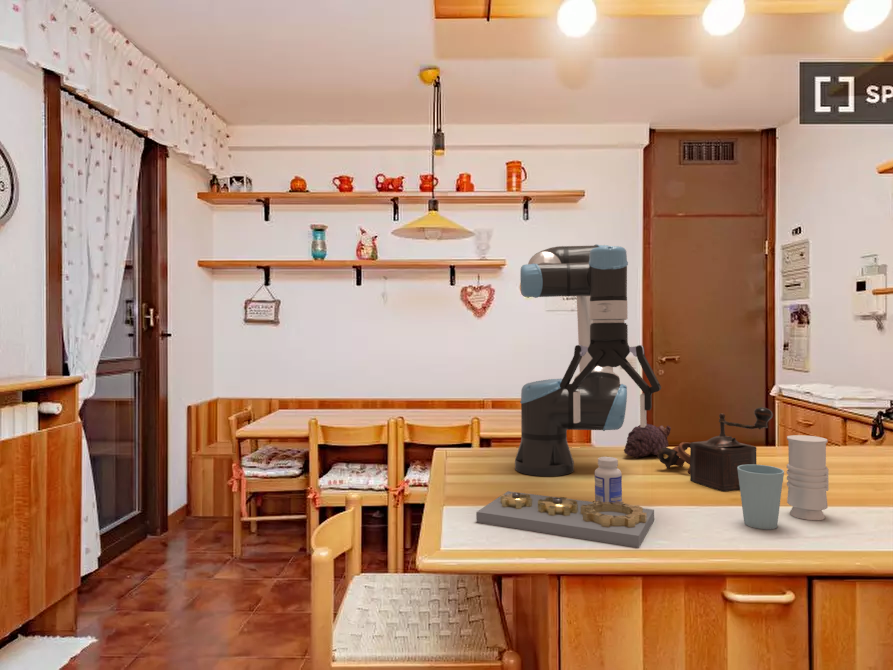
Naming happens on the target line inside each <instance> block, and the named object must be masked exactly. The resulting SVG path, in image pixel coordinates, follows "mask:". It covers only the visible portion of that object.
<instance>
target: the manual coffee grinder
mask: <svg viewBox="0 0 893 670" xmlns="http://www.w3.org/2000/svg"><path fill="white" fill-rule="evenodd" d="M753 414H754V416H755V419H756V421H755V422H754V423H753V424H754V425H750V424H744V423H739V422H738V423H737V422H731V421H726V419H725V418H726V415H725V413H722V412H721V413H719V414H718V415H719V419H718V423H719V424H720V425H719V426H720V427H719V429H720V433H719V435H716V436H713V437H711V438H709V439H707V440H703V441H701V440H700V441H692V442H691V441H690V443H691V444H690V448H689V449H690V453H689V455H690V465H689V467H690V474H689V476H690V478H689V479H690V482H693V483H695V484H699V485H701V486H704V487H708V488H710V489H713V490H715V491H719V492H729V491H731V492H732V491H738V490H739V491H740V485H739V477H738V469H737V467H738V466H740V465H748V464H755V465H757V450H758V449H757V446H754V445H751V444H746V443H742V442H739V441H738V440H737V439H736V437H732V435H730V436H728V435H726V432H725V429H726V428H725V425H727V426H730V427H737V428H738V427H739V428H743V429H748V430H756V429H758V430H762V429H764V428H765V429H768V428H769V427H768V426H769V425H768V422H769V421H770V420H771V419H773V416H774V413H773V411H772V410H771V409H769V408H767V407H764V406H761V407H757V408H755V409H754V410H753Z"/></svg>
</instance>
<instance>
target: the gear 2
mask: <svg viewBox="0 0 893 670" xmlns="http://www.w3.org/2000/svg"><path fill="white" fill-rule="evenodd" d="M592 502H593V503H592V504H588V505H582V506H581V514H583V520H585V521H586V522H590V521H592V522H595V523H598V524H602V526H604V527H610V526H626V527H628V528H630V527H635V524H638V523H640V522H642V523H646V521H647V513H643V508H644V507H642V506H640V505H632V504H628V503H625V502H624V501H622V502H621V501H616V502H601V501H595V500H594V501H592ZM605 511H613V512H621V513H625V514H628V515H625V516H612V515H604V514H601V513H599V512H605Z"/></svg>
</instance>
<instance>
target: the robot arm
mask: <svg viewBox="0 0 893 670" xmlns="http://www.w3.org/2000/svg"><path fill="white" fill-rule="evenodd" d="M627 254H628V253H627V249H626V248H625V247H623V246H619V245H605V244H603V245H602V244H594V245H568V246H567V245H566V246H565V245H562V246H558V245H557V246H553V247H549V248H546V249H543V250H540V251H538V252H537V253H534V255H532V256H531V257H530V258H529V260H528V263H526V264H523V265H522V266H520V275H519V276H520V279H519V280H520V293H521V294H520V295H521V296H522V297H525V298H535V299H536V298H550V297H552V298H553V297H575V298H576V309H577V311H576V312H577V313H576V314H577V338H578V339H577V340H578V344H577V345H575V346H574V353H573V357H572V359H571V360H570V363H569V365H568V367H567V369H566V371H565V373H564V376H563V377H562V378H551V379H550V378H549V379H542V380H536V381H531V382H527V383H526V384H524V385H522V387H521V394H520V404H521V406H520V408H521V410H520V411H521V412H520V414H521V415H520V418H521V419H520V421H521V423H520V426H521V429H520V430H521V439H520V443H519V447H518V450H517V452H516V456H515V458H514V459H515V460H514V470H515V471H516V472H518V473H521V474H525V475H529V476H534V477H535V476H536V477H558V476H565V475H568V474H572V473H573V472H574V471H575V463H574V459H573V455H572V453H571V450H570V446H569V444H568V438H567V431H570V430H572V431H603V432H605V431H617V430H619V429H621V428H622V427H623V425H624V423H625V422H624V421H625V418H626V409H627V401H628V399H627V398H628V386H627V385H626V384H623V383H621V381H620V376H619V375H618V374H617V373H615V372H614V368H617V367H619V366H620V367H621V369H623V370H624V371H625V372H626V373H627V374H628V376H629V377H630V378H631V379H632V381H633V382H634V383H635V385H636V386H637V387H639V389H640V390H641V391H642V393H641V394H640V395H639V399H640V400H639V407H640V409H639V410H640V411H639V412H640V413H639V414H640V415H639V418H640V421H639V422H640V423H639V425H640V427H645V426H646V424H647V411H651V410H652V407H653V400H652V399H653V394H654V393H657V392H659V391H661V389H662V385H661V384H660V382H659V380H658V378H657V376H656V374H655V372H654V370H653V368H652V365H650V363H649V361H648V359H647V357H646V354H645V347H644V345H642V344H639V345H636V346H629V342H628V341H629V337H628V335H629V334H628V333H629V332H628V329H629V328H628V324H627V322H625V321H626V320H628V293H627V292H628V265H629V262H628V259H627V257H628V256H627ZM630 353H632V355H633V357H637V361H638V363H639V365H640V366H641V368H642V370H643V373H644V374H645V376H646V378H647V380H648V383H649V384H650V385H649V384H648V383H647V382H646V381H645V379H643V377H642V376H641V375H640V374H639V373H638V371H636V369H635V368H634V367H633V365H631V363H630V361H629V360H627V357H628V356H629V354H630ZM578 366H579V367H578ZM578 368H579V372H578V374H577V375H576V376H575V377H574V375H575V373H576V371H577V369H578ZM573 377H574V378H573ZM572 378H573V381H572ZM571 381H572V382H571Z"/></svg>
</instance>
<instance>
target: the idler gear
mask: <svg viewBox="0 0 893 670" xmlns="http://www.w3.org/2000/svg"><path fill="white" fill-rule="evenodd" d="M514 492H515V493H511V494H508V495H503V494H501V495H500V496H499V497H501V503H502V506H503V507H513V508H516V509H522V507H526V506H527V507H531V506H532V498H530V495H528V494H529V493H526V494H524V495H523V494H520V493H521V492H518V493H517V491H514Z"/></svg>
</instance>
